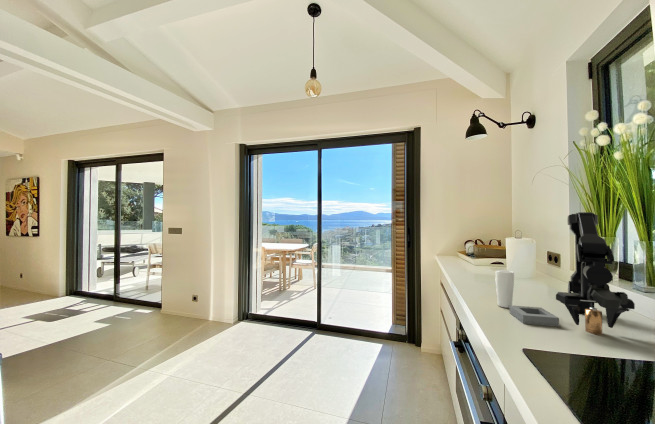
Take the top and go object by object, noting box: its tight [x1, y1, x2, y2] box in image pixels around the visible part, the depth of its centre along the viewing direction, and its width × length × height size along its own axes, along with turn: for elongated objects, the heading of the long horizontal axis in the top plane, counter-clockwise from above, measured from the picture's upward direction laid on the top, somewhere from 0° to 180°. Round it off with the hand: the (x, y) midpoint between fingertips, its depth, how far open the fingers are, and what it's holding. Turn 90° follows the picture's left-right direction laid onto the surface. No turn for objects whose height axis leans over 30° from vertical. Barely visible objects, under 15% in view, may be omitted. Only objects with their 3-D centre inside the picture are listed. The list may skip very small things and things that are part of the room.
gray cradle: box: [509, 304, 560, 328], centre depth 99 cm, size 11×11×3 cm
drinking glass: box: [494, 269, 515, 309], centre depth 114 cm, size 7×7×15 cm
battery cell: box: [584, 306, 603, 336], centre depth 88 cm, size 4×4×8 cm
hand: (593, 326), depth 88 cm, fingers open, 9 cm apart
